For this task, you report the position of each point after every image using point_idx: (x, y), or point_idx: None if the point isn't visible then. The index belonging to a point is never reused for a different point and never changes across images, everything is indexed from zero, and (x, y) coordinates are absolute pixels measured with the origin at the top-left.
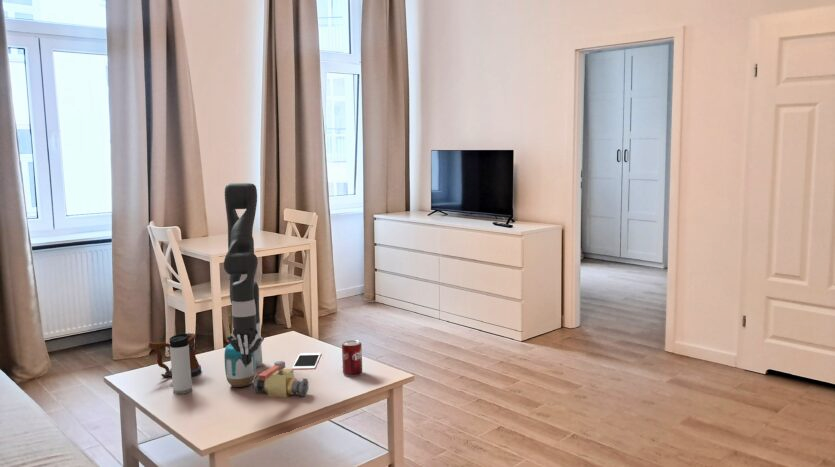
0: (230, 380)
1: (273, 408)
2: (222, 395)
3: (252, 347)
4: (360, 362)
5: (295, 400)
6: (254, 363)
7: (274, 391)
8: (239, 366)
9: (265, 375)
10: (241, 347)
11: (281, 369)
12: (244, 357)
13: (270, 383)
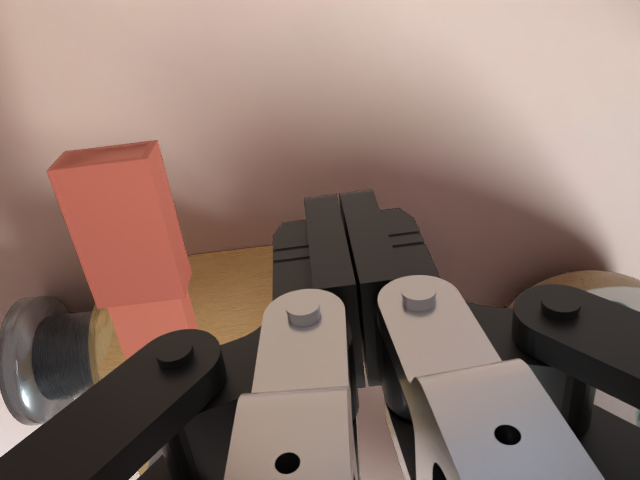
0: (623, 280)
1: (88, 79)
2: (606, 149)
3: (124, 435)
4: None
5: (54, 248)
6: None
7: (227, 270)
8: None
9: (55, 179)
10: (459, 374)
11: None
12: (357, 247)
13: (254, 301)
